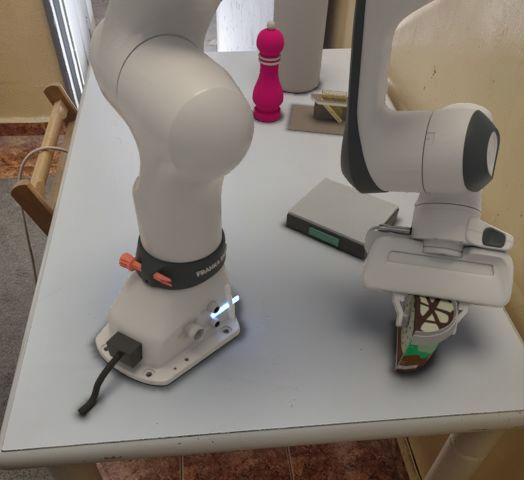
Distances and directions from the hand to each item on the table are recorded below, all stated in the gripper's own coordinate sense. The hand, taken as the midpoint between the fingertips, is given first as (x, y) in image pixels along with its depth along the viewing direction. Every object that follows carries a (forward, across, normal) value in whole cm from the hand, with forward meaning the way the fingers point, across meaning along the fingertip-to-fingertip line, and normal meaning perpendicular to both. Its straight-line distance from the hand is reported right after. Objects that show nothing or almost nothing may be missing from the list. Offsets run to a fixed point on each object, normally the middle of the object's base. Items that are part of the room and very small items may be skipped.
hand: (425, 330), depth 73 cm
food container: (+3, 0, +4) cm, 6 cm away
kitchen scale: (-17, -13, +25) cm, 33 cm away
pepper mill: (-44, -34, +51) cm, 75 cm away
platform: (-45, -19, +52) cm, 71 cm away
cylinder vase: (-57, -30, +65) cm, 91 cm away
